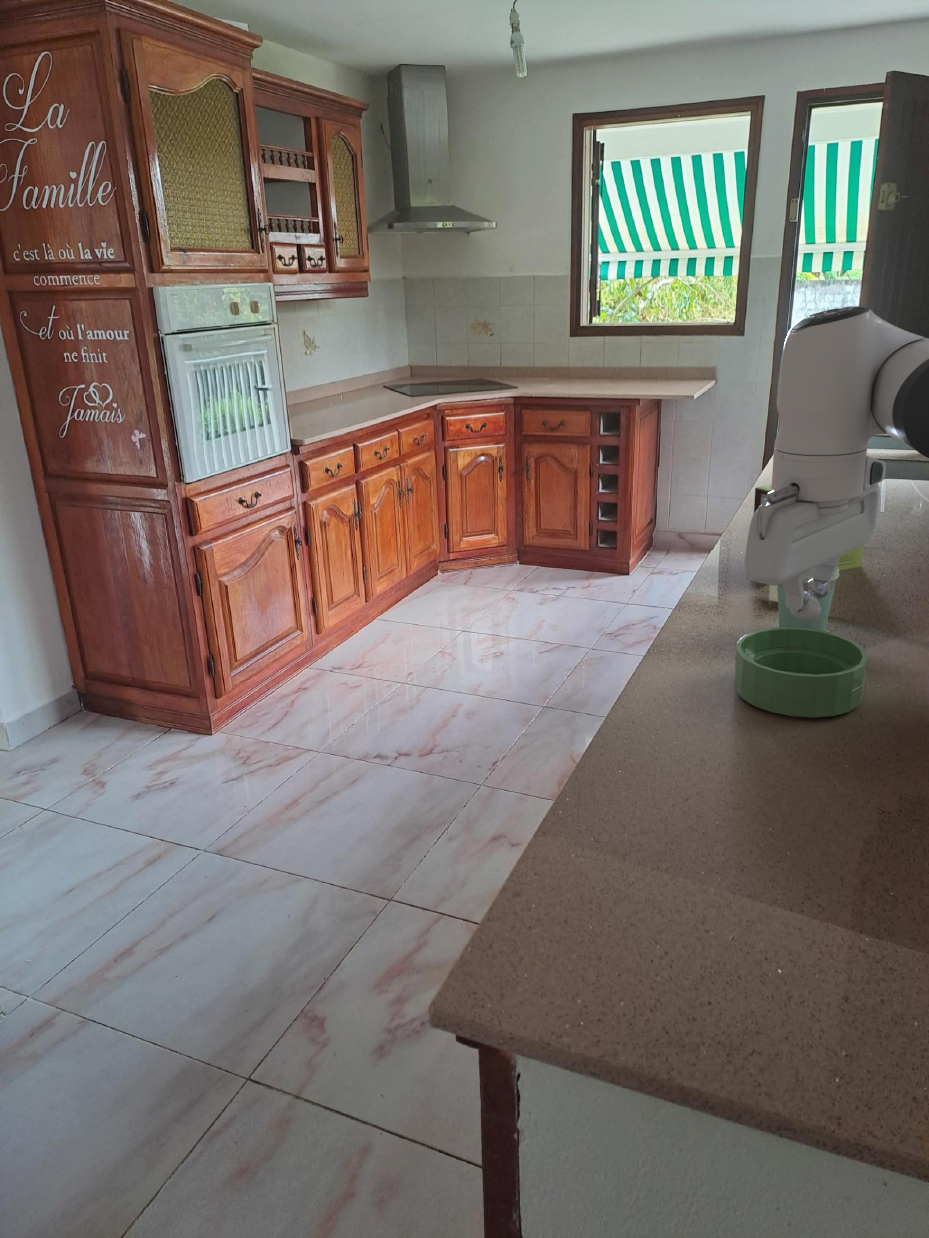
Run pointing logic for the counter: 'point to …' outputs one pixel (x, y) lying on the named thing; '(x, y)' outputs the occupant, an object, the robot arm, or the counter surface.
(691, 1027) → the counter surface
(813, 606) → the white pebble
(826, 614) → the coffee cup
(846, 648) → the bowl
